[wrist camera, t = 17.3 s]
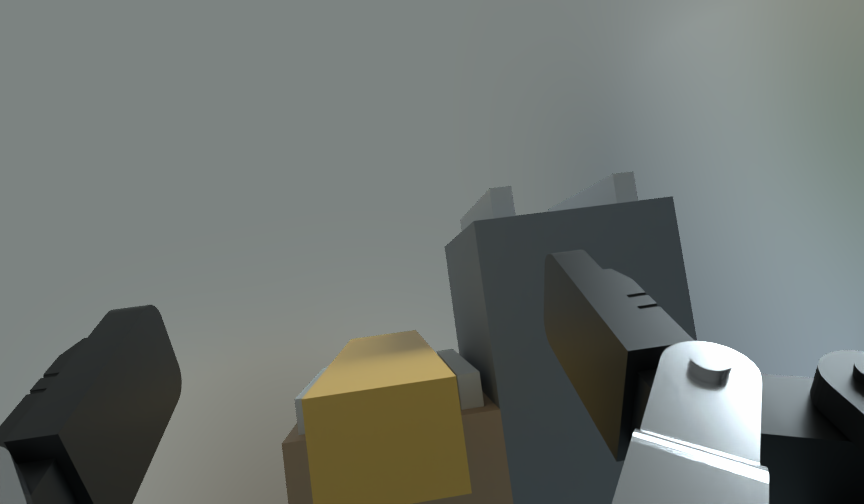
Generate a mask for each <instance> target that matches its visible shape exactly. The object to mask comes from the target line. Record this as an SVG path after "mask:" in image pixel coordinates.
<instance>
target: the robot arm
mask: <svg viewBox="0 0 864 504" xmlns="http://www.w3.org/2000/svg"><path fill="white" fill-rule="evenodd" d="M544 326H545V332H546V336H547V339H548V342H549V344H550V346H551V348H552V350H553V352H554V353H555V355H556V357H557V359H558V360H559V362H560V364H561V366H562V367H563V369H564V371H565V373H566V374H567V376H568V378H569V380H570V381H571V383H572V385H573V387H574V388H575V390H576V392H577V394H578V395H579V397H580V399H581V401H582V402H583V404H584V406H585V408H586V409H587V411H588V413H589V415H590V416H591V418H592V420H593V422H594V423H595V425H596V427H597V429H598V430H599V432H600V434H601V436H602V437H603V439H604V441H605V443H606V444H607V446H608V448H609V450H610V451H611V453H612V455H613V457H614V458H615V460H616V462H619V461H624V465H623V468H622V471H621V475H620V478H619V481H618V485H617V488H616V491H615V495H614V498H613V501H612V504H864V351H857V350H841V351H834V352H831V353H828V354H826V355H824V356H823V357H822V358H821V359H820V360H819V363H818V366H817V369H816V373H815V376H814V378H811V377H796V376H782V375H768V374H761V373H760V371H759V370H758V368H757V366H756V365H755V364H754V363H753V362H752V361H751V360H750V359H748V358H747V357H745V356H744V355H742V354H741V353H739V352H737V351H735V350H733V349H731V348H728V347H725V346H722V345H718V344H714V343H709V342H702V341H694V340H693V339H692V338H691V337H690V336H689V335H688V334H687V333H686V332H685V331H684V330H683V329H682V328H681V327H680V326H679V325H678V324H677V323H676V322H675V321H674V320H673V319H672V318H671V317H670V316H669V315H668V314H667V313H666V312H665V311H664V310H663V309H662V308H661V307H660V306H658V307H657V303H656V302H655V301H654V300H653V299H652V298H651V297H650V296H649V295H646V292H645V291H644V290H643V289H642V288H641V287H640V286H639V285H638V284H637V283H636V282H635V281H634V280H633V279H631V278H629V277H627V276H625V275H623V274H621V273H619V272H617V271H615V270H613V269H604V270H603V269H602V268H601V267H600V266H599V265H598V264H597V263H596V262H595V261H594V260H593V259H592V258H591V257H590V255H589V254H588V253H587V252H586V251H585V250H574V251H566V252H559V253H551V254H548V255H547V256H546V259H545V271H544ZM180 393H181V372H180V368H179V365H178V362H177V360H176V356H175V353H174V351H173V348H172V345H171V342H170V339H169V336H168V334H167V331H166V328H165V325H164V322H163V320H162V317H161V314H160V312H159V310H158V309H157V308H156V307H155V306H153V305H146V306H139V307H130V308H123V309H115V310H111V311H109V312H108V313H107V314H106V315H105V316H104V318H103V319H102V320H101V321H100V323H99V324H98V325H97V326H96V328H95V329H94V330H93V331H92V333H91V334H90V335H89V337H88V338H84V339H82V340H81V341H80V342H78V343H77V344H75V345H74V346H73V347H71V348H70V349H68V350H67V351H65V352H64V353H63V354H61V355H60V356H59V357H58V358H57V359H56V360H55V361H54V363H53V364H52V365H51V366H50V367H49V369H48V370H47V371H46V372H45V373H44V378H41V379H40V380H39V381H38V382H37V383H36V384H35V385H34V386H33V388H32V389H31V390H30V394H29V395H26V396H25V397H24V398H23V399H22V401H21V402H20V403H19V404H18V405H17V407H16V408H15V409H14V410H13V411H12V413H11V414H10V415H9V416H8V417H7V418H6V420H5V421H4V422H3V423H2V424H1V426H0V504H132V503H133V501H134V499H135V496H136V494H137V492H138V489H139V487H140V485H141V483H142V481H143V478H144V476H145V474H146V472H147V470H148V467H149V465H150V463H151V461H152V458H153V456H154V453H155V452H156V449H157V447H158V445H159V442H160V440H161V438H162V436H163V433H164V431H165V429H166V427H167V425H168V422H169V420H170V418H171V416H172V413H173V411H174V409H175V407H176V405H177V402H178V400H179V397H180Z"/></svg>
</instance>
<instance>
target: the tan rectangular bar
mask: <svg viewBox="0 0 864 504" xmlns="http://www.w3.org/2000/svg"><path fill="white" fill-rule="evenodd" d="M301 401H302V410H303V418H304V427H305V436H306V445H307V454H308V462H309V471H310V480H311V489H312V498H313V504H413V503H419V502H425V501H430V500H436V499H442V498H448V497H454V496H459V495H465V494H471V493H472V490H471V483H470V475H469V468H468V461H467V453H466V446H465V438H464V431H463V424H462V416H461V409H460V401H459V394H458V387H457V379H456V375H455V374H454V373H453V372H452V371H451V370H450V369H449V367H448V366H447V365H446V364H445V363H444V362H443V361H442V359H441V358H440V357H439V356H438V355H437V354H436V353H435V351H434V350H433V349H432V348H431V347H430V346H429V345H428V343H427V342H426V341H425V340H424V339H423V338H422V337H421V336H420V334H419V333H418V332H417V331H416V330H413V331H406V332H399V333H392V334H384V335H378V336H371V337H363V338H356V339H351V340H350V341H349V342H348V344H347V345H346V346H345V347H344V348H343V350H342V351H341V352H340V353H339V355H338V356H337V357H336V358H335V360H333V362H332V363H331V364H330V365H329V367H328V368H327V369H326V370H325V371H324V373H323V374H322V375H321V376H320V377H319V379H318V380H317V381H316V382H315V383H314V385H313V386H312V387H311V388H310V390H309V391H308V392H307V393H306V394H305V396H304V397H303V398H302V399H301Z"/></svg>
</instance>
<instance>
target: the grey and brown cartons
mask: <svg viewBox="0 0 864 504" xmlns="http://www.w3.org/2000/svg"><path fill="white" fill-rule="evenodd" d="M460 221H461V229H462V232H461V233H460V234H459V235H458V236H456V237H455V238H454V239H453V240H452V241H451V242H450V243H449V244H447V245H446V246H445V252H446V259H447V266H448V274H449V281H450V287H451V288H450V289H451V296H452V303H453V311H454V318H455V325H456V332H457V340H458V347H459V354H458V353H457V352H455V351H454V350H453V349H449V350H442V351H437V355H438V356H439V357H440V358H441V359H442V361H443V362H444V363H445V364H446V365H447V366H448V367H449V369H450V370H451V371H452V372H453V373H454V374H455V375H456V379H457V387H458V394H459V401H460V409H461V416H462V424H463V431H464V438H465V446H466V453H467V461H468V468H469V475H470V483H471V490H472V493H471V494H465V495H459V496H454V497H448V498H442V499H436V500H430V501H425V502H419V503H413V504H612V501H613V498H614V495H615V491H616V488H617V485H618V481H619V478H620V475H621V471H622V468H623V465H624V461H619V462H616V460H615V458H614V457H613V455H612V453H611V451H610V450H609V448H608V446H607V444H606V443H605V441H604V439H603V437H602V436H601V434H600V432H599V430H598V429H597V427H596V425H595V423H594V422H593V420H592V418H591V416H590V415H589V413H588V411H587V409H586V408H585V406H584V404H583V402H582V401H581V399H580V397H579V395H578V394H577V392H576V390H575V388H574V387H573V385H572V383H571V381H570V380H569V378H568V376H567V374H566V373H565V371H564V369H563V367H562V366H561V364H560V362H559V360H558V359H557V357H556V355H555V353H554V352H553V350H552V348H551V346H550V344H549V342H548V339H547V336H546V332H545V326H544V271H545V259H546V256H547V255H548V254H551V253H559V252H566V251H574V250H585V251H586V252H587V253H588V254H589V255H590V257H591V258H592V259H593V260H594V261H595V262H596V263H597V264H598V265H599V266H600V267H601V268H602V269H603V270H604V269H613V270H615V271H617V272H619V273H621V274H623V275H625V276H627V277H629V278H631V279H633V280H634V281H635V282H636V283H637V284H638V285H639V286H640V287H641V288H642V289H643V290H644V291H645V292H646V295H649V296H650V297H651V298H652V299H653V300H654V301H655V302H656V303H657V307H658V306H660V307H661V308H662V309H663V310H664V311H665V312H666V313H667V314H668V315H669V316H670V317H671V318H672V319H673V320H674V321H675V322H676V323H677V324H678V325H679V326H680V327H681V328H682V329H683V330H684V331H685V332H686V333H687V334H688V335H689V336H690V337H691V338H692V339H693V340H694V341H697V338H696V332H695V326H694V320H693V314H692V309H691V302H690V296H689V290H688V285H687V279H686V273H685V267H684V261H683V255H682V249H681V243H680V237H679V231H678V225H677V220H676V214H675V208H674V202H673V197H664V198H658V199H657V198H656V199H649V200H640V201H638V197H637V191H636V185H635V179H634V173H633V172H626V173H616V174H612V175H610V176H608V177H606V178H605V179H603V180H601V181H599V182H597V183H595V184H593V185H592V186H590V187H588V188H586V189H584V190H582V191H581V192H579V193H577V194H575V195H573V196H571V197H570V198H568V199H566V200H564V201H563V202H561V203H559V204H557V205H555V206H553V207H552V208H550V209H548V212H543V213H534V214H527V215H519V216H515V210H514V203H513V195H512V189H511V186H506V187H498V188H489V190H488V191H487V192H486V193H485V194H484V195H483V196H482V197H481V198H480V199H479V200H478V201H477V203H476V204H475V205H474V206H473V207H472V208H471V209H470V210H469V211H468V212H467V213H466V214H465V216H464V217H463V218H462V219H461V220H460ZM327 368H328V367H325V368H323V369H322V370H321V371H320V373H318V375H317V376H316V377H315V378H314V379H313V380H312V381H311V382H310V383H309V384H308V385H307V386H306V388H305V389H304V390H303V391H302V392H301V393H300V394H299V395H298V396H297V397H296V398H295V407H296V416H297V424H296V425H295V427H294V428H293V429H292V431H291V432H290V433H289V435H288V436H287V437H286V439H285V440H284V441H283V443H282V450H283V459H284V468H285V477H286V486H287V494H288V503H289V504H313V498H312V489H311V480H310V471H309V462H308V454H307V445H306V436H305V427H304V418H303V410H302V401H301V399H302V398H303V397H304V396H305V394H306V393H307V392H308V391H309V390H310V388H311V387H312V386H313V385H314V383H315V382H316V381H317V380H318V379H319V377H320V376H321V375H322V374H323V373H324V371H325V370H326V369H327Z"/></svg>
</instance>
